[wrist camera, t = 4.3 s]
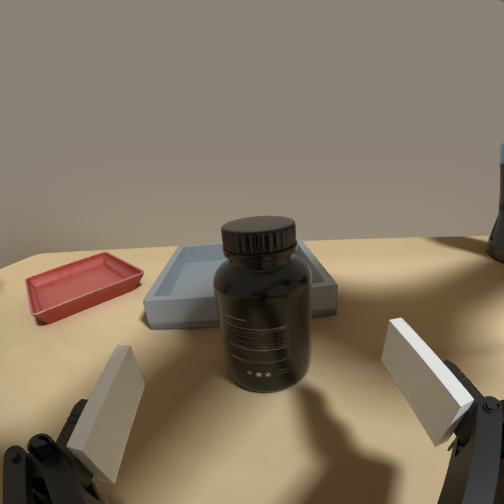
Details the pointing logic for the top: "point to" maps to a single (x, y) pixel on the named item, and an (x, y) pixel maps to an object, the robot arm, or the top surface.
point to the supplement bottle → (264, 303)
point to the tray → (202, 291)
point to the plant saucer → (80, 286)
